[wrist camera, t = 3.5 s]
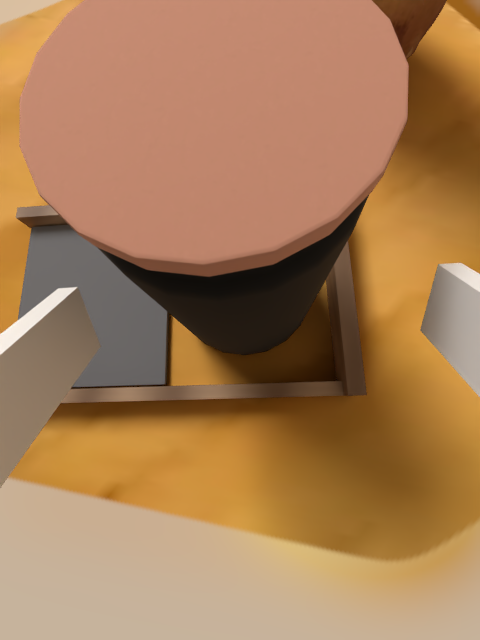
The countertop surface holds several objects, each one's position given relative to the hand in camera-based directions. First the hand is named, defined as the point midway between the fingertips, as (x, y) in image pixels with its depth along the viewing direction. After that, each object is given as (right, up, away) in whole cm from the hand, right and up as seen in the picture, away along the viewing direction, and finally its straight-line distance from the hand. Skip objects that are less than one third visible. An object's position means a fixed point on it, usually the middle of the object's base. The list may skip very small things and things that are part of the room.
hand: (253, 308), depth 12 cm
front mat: (-13, +1, +15) cm, 20 cm away
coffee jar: (0, +2, +14) cm, 14 cm away
